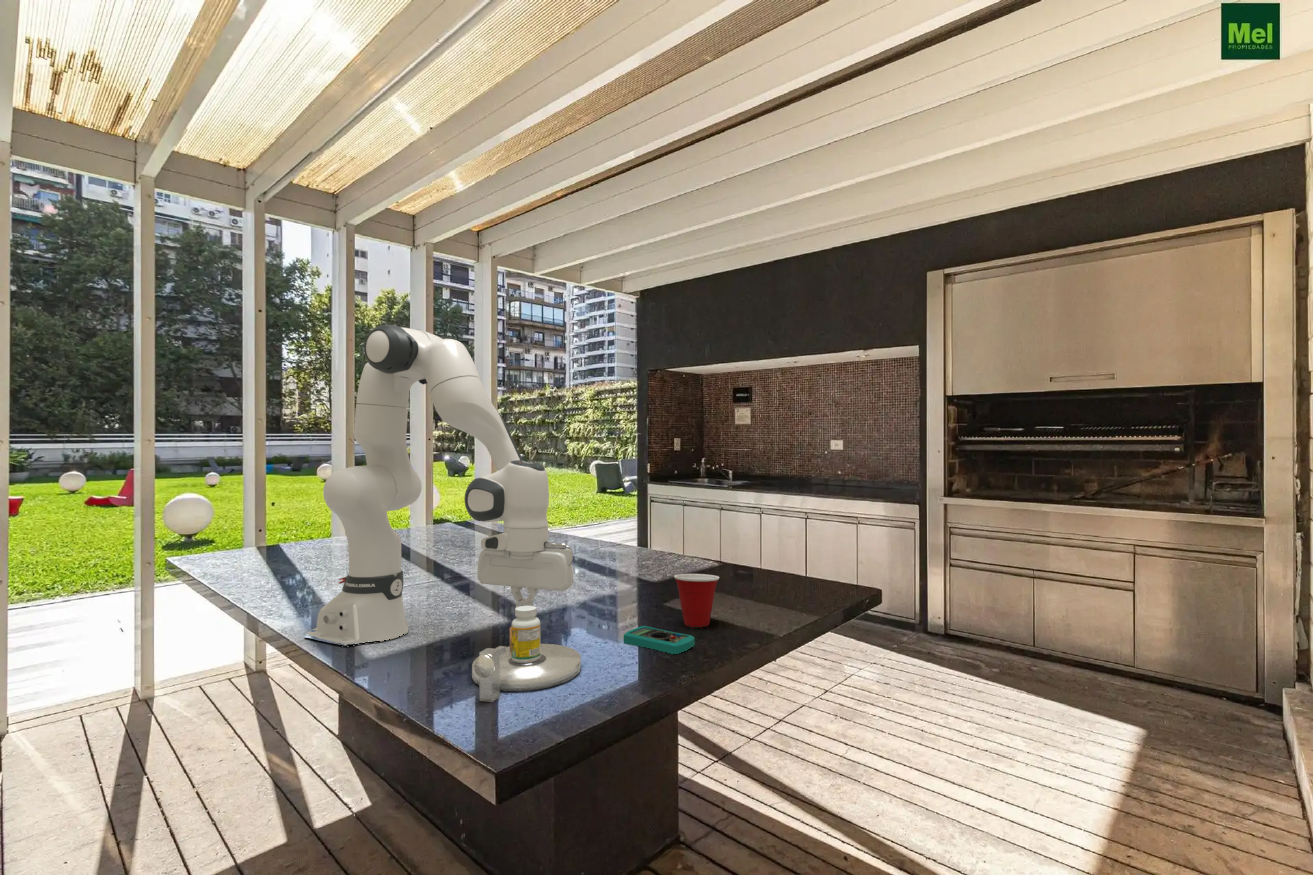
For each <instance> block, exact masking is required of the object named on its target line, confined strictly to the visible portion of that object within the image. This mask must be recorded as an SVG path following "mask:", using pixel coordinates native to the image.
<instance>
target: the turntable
mask: <svg viewBox="0 0 1313 875" xmlns="http://www.w3.org/2000/svg"><path fill="white" fill-rule="evenodd" d="M540 651H541V656H540V658H539V660H537V661H535V662H531V663H516V662H514V661H513V660H512V626H510V627H509V646H506V652H505V653H504V654H502V655H500V691H503V692H507V691H508V692H524V691H533V690H535V691H536V690H540V689H545V688H551V687H554V686H557V685H561V684H564V683H566V682H568V681H570V680H571V679H573V678H575V677H576V676H578V674H580V671H581V668H582V661H581V660H582V658H581V654H580V652H579V651H578V650H576V649H574V648H572V647H570V646H566V645H560V644H553V643H552V644H551V643H540ZM471 679H472V680H473V682H474V683H475V684H477V685H478V686H480V676H478V675H477V674H476V672H475V670H474V661H472V664H471Z"/></svg>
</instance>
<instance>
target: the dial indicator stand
mask: <svg viewBox="0 0 1313 875" xmlns="http://www.w3.org/2000/svg"><path fill="white" fill-rule="evenodd" d="M506 647H507V646H505V645H504V646H503V645H499V646H497V647H495V648H491V647H490V648H489V647H487V648H485V649H483V650H482V651H479V655H478V657H476V658H475V659H474V660H473V662H474V670H475V672H476V674H477V675H478V676H480V685H479V702H487V703H488V702H489V703H493V702H495V701H496V700H497V699H499V698H500V697H501V690H500V655H502V654H504V653H505V652H506Z"/></svg>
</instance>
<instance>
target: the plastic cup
mask: <svg viewBox="0 0 1313 875" xmlns="http://www.w3.org/2000/svg"><path fill="white" fill-rule="evenodd" d="M673 577H674V579H675V581H676V585H677V586H676V587H677V589H678V596H679V602H680V608H681V612H682V616H683V617H682V618H683V623H684V626H685V625H686V626H690V627H703V626H708V625H710V622H711V616H712V615H711V614H712V612H713V604H714V599H715V598H714V597H715V592H716V587H717V583H718V581H719V579H720V576H719V575H713V574H705V573H681V574H675V575H673ZM686 626H685V627H686ZM708 627H709V626H708Z"/></svg>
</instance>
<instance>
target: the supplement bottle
mask: <svg viewBox="0 0 1313 875" xmlns="http://www.w3.org/2000/svg"><path fill="white" fill-rule="evenodd" d="M537 608H538V607H537V606H534V605H533V606H520V607H517V608H516V607H515V609H514V615H515V617H516V618H513V620H512V621H511V627H512V660H513V661H514V662H516V663H531V662H535V661H537V660H539V658H540V656H541V651H540V644H541V621H540V619H539V617H537V614H538V609H537Z"/></svg>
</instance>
